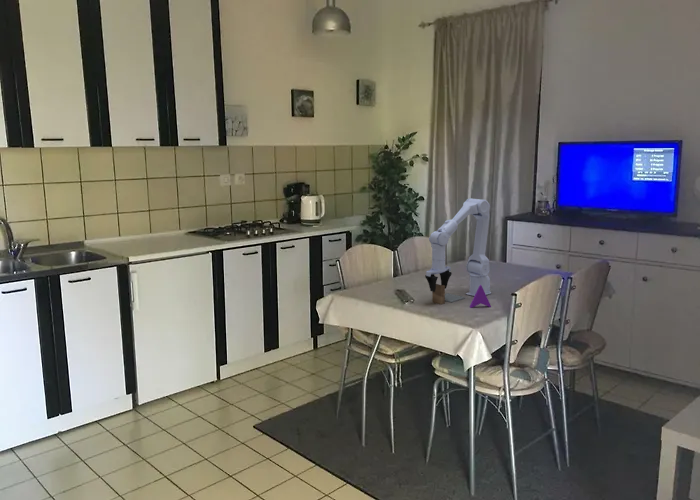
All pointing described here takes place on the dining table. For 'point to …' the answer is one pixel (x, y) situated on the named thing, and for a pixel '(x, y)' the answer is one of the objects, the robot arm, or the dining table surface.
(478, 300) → the arrowhead
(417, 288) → the dining table surface
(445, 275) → the robot arm
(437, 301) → the tall wooden plank
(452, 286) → the dining table surface
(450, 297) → the rubber mat
